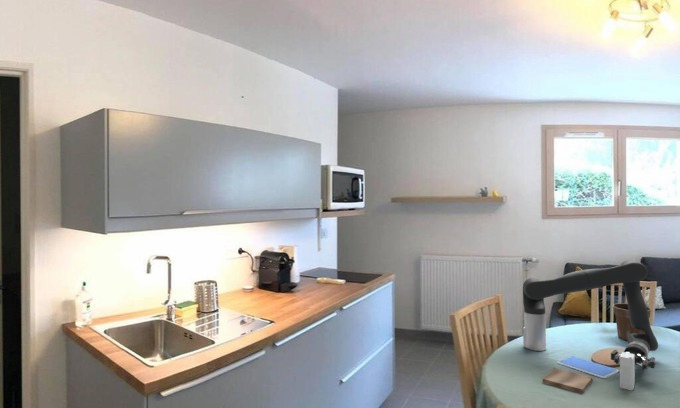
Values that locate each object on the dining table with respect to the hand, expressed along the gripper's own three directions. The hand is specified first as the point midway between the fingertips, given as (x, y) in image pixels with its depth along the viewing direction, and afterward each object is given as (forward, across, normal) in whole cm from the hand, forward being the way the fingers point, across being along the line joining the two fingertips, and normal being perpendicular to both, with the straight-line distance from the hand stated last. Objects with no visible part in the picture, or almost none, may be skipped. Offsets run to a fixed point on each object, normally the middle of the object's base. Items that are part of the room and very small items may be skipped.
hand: (629, 364), depth 158 cm
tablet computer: (-6, -16, +8) cm, 19 cm away
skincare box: (+5, 0, +7) cm, 9 cm away
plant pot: (-59, -8, +7) cm, 60 cm away
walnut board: (+15, -18, +7) cm, 24 cm away
